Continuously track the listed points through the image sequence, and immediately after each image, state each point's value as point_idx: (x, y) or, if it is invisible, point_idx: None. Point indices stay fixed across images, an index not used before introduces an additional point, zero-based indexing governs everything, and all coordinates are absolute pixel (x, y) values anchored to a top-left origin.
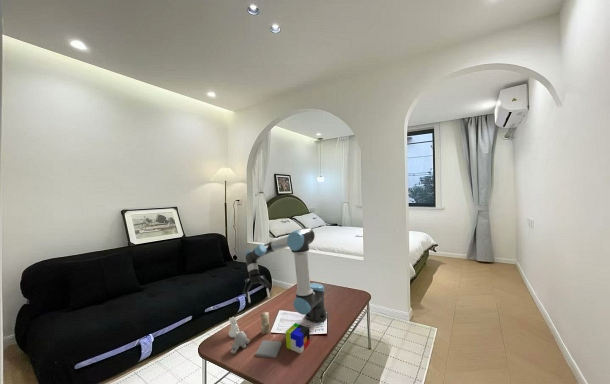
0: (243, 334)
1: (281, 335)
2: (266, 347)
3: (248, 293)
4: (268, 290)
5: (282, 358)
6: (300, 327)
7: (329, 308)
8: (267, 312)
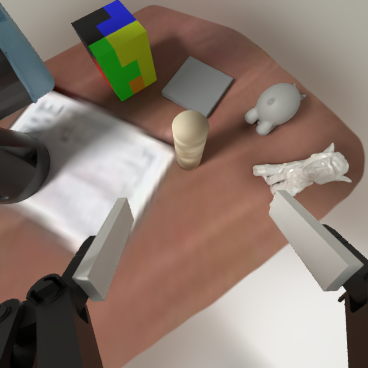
0: (277, 87)
1: (151, 125)
2: (203, 86)
3: (336, 245)
4: (93, 244)
5: (176, 55)
6: (95, 32)
7: None
8: (175, 132)
